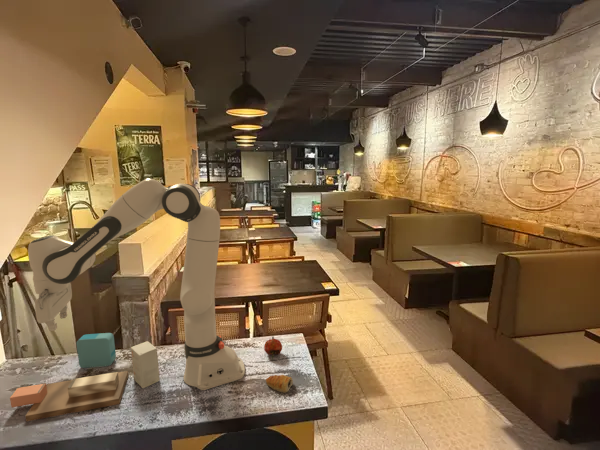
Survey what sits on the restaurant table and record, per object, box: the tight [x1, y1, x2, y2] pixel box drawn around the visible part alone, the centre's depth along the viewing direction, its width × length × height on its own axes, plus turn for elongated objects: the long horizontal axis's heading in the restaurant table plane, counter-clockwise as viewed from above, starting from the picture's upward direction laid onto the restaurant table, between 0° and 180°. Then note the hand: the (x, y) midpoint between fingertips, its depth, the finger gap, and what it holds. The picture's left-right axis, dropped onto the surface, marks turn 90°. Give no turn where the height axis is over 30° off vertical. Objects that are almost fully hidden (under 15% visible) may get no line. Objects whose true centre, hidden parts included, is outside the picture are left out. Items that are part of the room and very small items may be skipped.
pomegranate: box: [263, 335, 283, 361], centre depth 139 cm, size 7×7×10 cm
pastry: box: [265, 374, 294, 393], centre depth 120 cm, size 9×7×4 cm
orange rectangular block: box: [9, 382, 48, 408], centre depth 110 cm, size 8×5×4 cm, turn 107°
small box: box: [130, 340, 161, 389], centre depth 123 cm, size 8×6×13 cm
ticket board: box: [24, 370, 129, 422], centre depth 115 cm, size 26×16×6 cm, turn 107°
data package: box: [75, 332, 117, 369], centre depth 133 cm, size 12×4×12 cm, turn 97°
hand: (58, 323), depth 114 cm, fingers open, 8 cm apart
